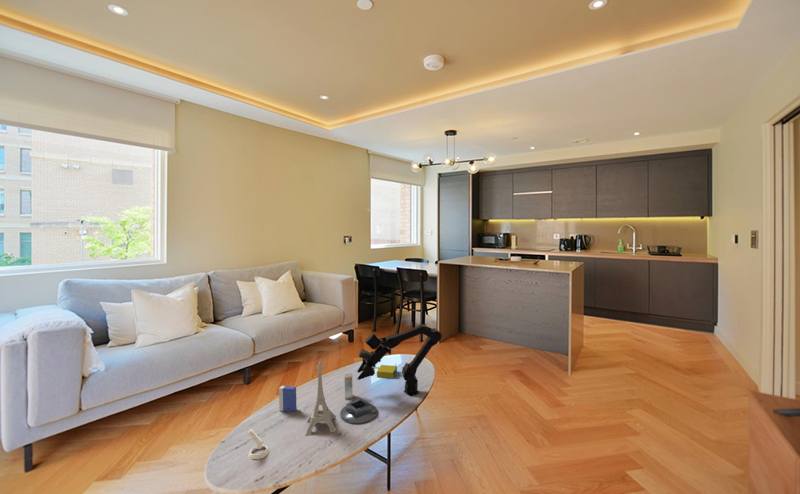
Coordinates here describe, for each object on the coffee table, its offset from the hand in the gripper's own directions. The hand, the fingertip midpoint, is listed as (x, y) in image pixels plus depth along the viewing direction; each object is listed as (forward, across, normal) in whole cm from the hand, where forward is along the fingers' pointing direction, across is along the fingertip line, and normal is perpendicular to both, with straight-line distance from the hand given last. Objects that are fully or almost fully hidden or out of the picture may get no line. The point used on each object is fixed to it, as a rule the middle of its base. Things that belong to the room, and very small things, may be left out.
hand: (357, 375), depth 182 cm
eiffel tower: (+21, +25, -4) cm, 33 cm away
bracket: (-3, -27, +20) cm, 34 cm away
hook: (+37, +42, -20) cm, 59 cm away
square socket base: (+8, +18, +8) cm, 21 cm away
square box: (+12, 0, +5) cm, 13 cm away
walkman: (+33, +9, -16) cm, 38 cm away
